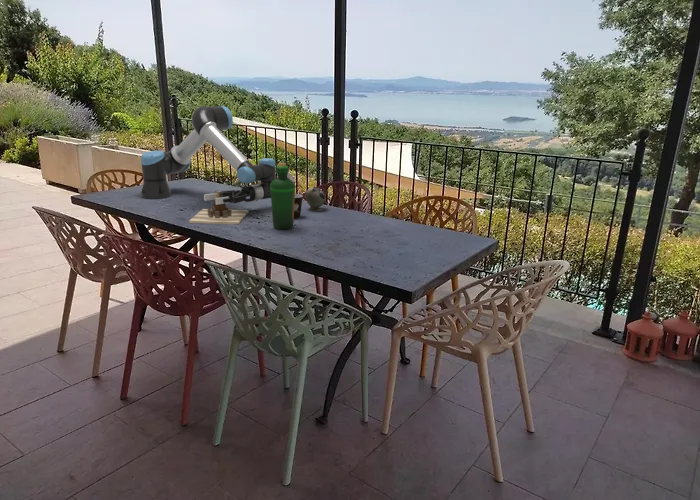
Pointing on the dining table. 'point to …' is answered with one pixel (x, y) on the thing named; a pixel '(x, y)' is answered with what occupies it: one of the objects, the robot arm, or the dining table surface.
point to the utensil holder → (219, 205)
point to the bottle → (282, 199)
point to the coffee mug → (297, 205)
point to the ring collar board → (227, 218)
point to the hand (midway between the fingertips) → (210, 199)
